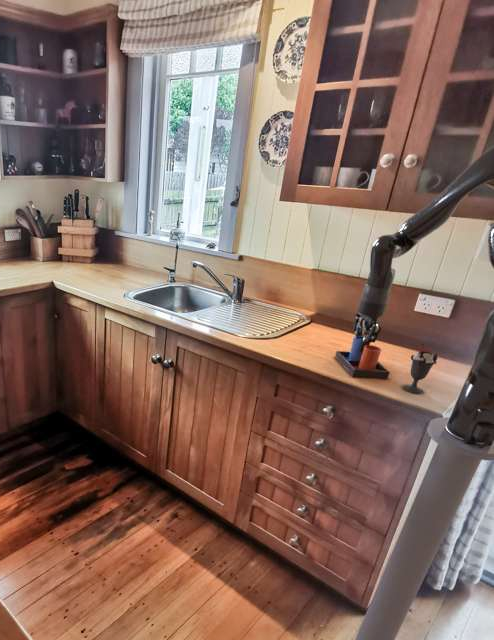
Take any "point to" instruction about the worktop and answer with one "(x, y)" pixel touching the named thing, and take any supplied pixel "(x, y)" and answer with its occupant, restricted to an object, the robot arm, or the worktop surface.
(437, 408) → the worktop surface
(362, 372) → the tray
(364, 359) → the terracotta cup
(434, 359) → the sundae
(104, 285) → the worktop surface
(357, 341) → the blue cup
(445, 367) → the worktop surface
